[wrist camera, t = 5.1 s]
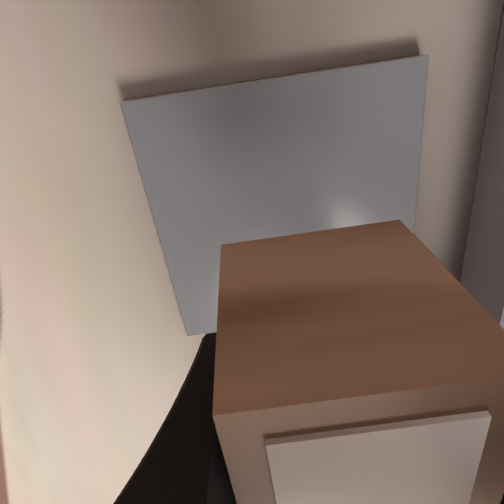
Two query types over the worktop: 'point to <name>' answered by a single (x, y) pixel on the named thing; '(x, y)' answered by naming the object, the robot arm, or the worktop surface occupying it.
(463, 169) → the worktop surface
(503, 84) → the parts bin
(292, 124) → the coaster
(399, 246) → the box stamped
